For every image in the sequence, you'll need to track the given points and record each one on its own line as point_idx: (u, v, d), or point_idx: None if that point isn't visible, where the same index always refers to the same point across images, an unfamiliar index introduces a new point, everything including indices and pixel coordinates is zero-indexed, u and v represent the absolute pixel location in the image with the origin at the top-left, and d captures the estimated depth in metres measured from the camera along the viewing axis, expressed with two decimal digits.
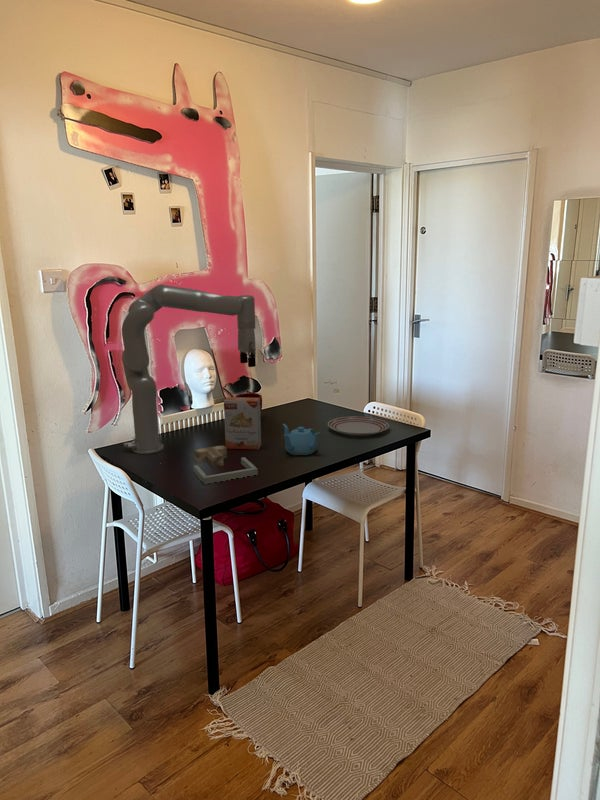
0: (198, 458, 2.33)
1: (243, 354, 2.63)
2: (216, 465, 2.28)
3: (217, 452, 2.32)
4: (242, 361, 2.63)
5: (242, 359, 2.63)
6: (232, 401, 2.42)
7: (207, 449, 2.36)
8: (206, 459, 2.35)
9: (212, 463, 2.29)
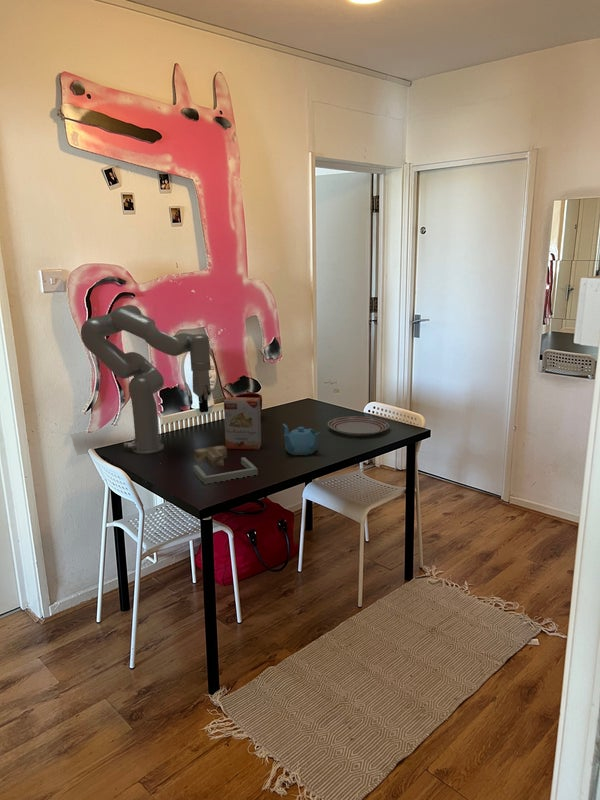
0: (198, 458, 2.33)
1: None
2: (216, 465, 2.28)
3: (217, 452, 2.32)
4: None
5: None
6: (232, 401, 2.42)
7: (207, 449, 2.36)
8: (206, 459, 2.35)
9: (212, 463, 2.29)
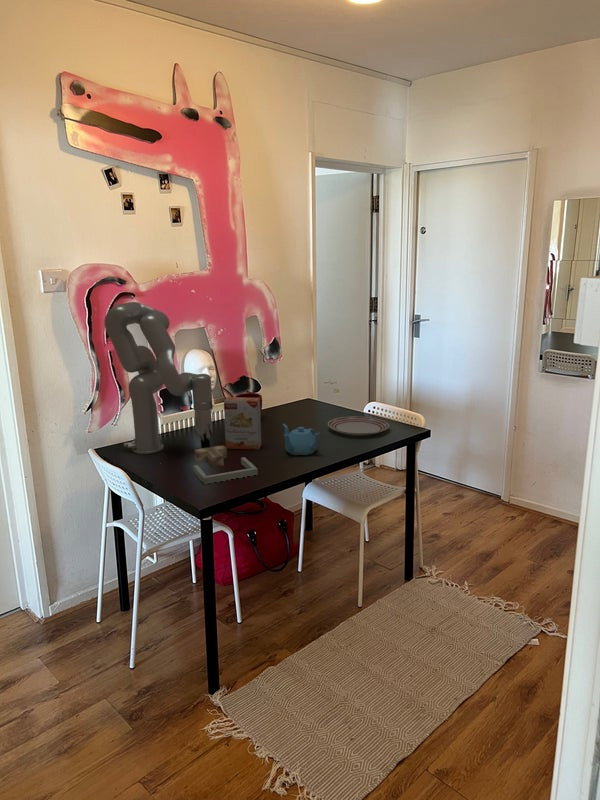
0: (198, 457, 2.33)
1: None
2: (216, 465, 2.28)
3: (217, 452, 2.32)
4: (203, 447, 2.43)
5: None
6: (232, 401, 2.42)
7: (207, 449, 2.36)
8: (206, 459, 2.35)
9: (212, 463, 2.29)
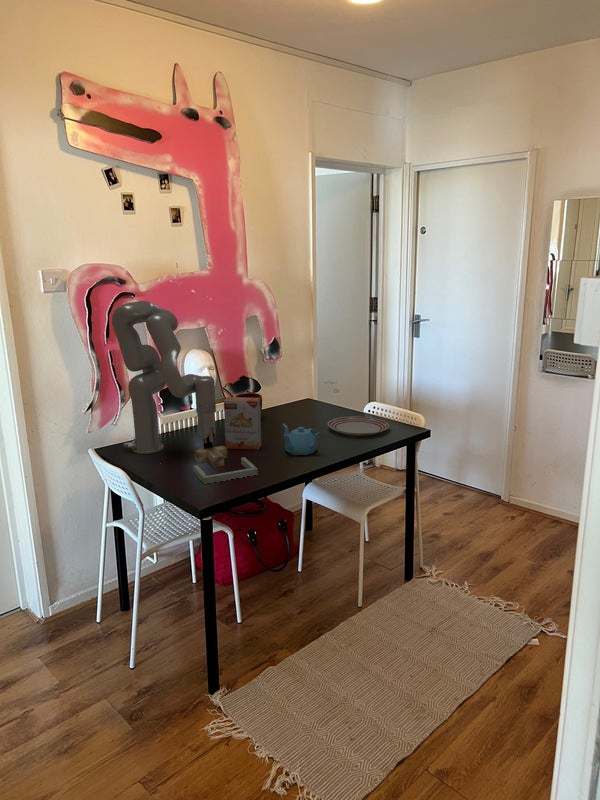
0: (198, 458, 2.32)
1: None
2: (217, 465, 2.28)
3: (218, 452, 2.32)
4: None
5: None
6: (232, 401, 2.42)
7: (208, 449, 2.35)
8: (206, 459, 2.34)
9: (213, 463, 2.28)
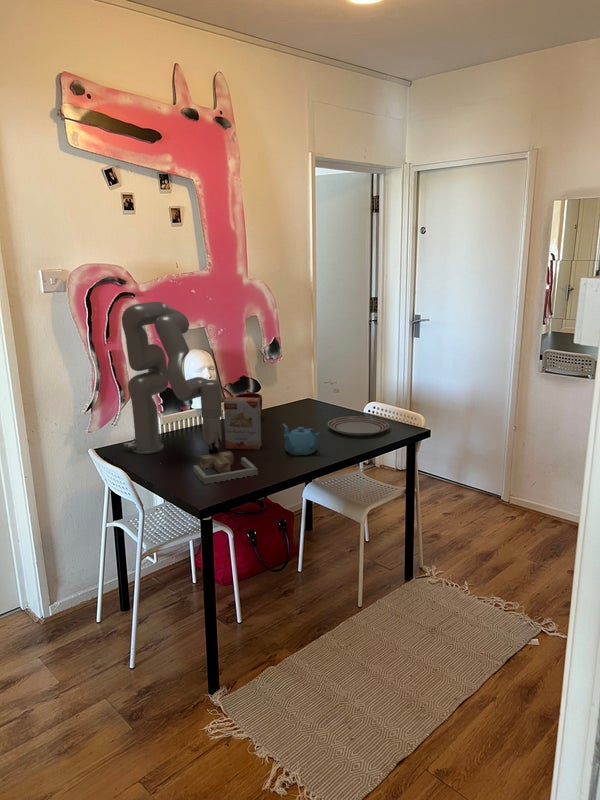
0: (204, 464, 2.26)
1: None
2: (223, 472, 2.21)
3: (224, 458, 2.25)
4: None
5: None
6: (232, 401, 2.42)
7: (213, 455, 2.29)
8: (212, 465, 2.27)
9: (219, 470, 2.21)
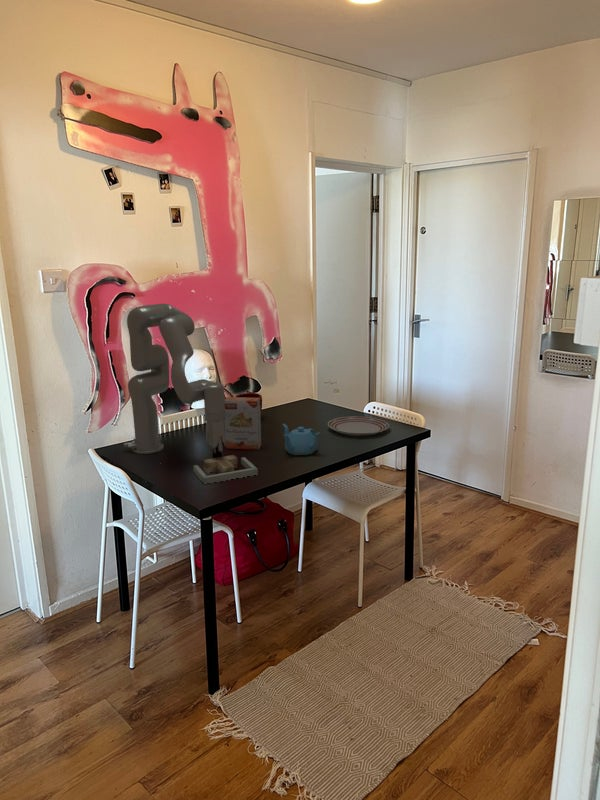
0: (207, 468, 2.22)
1: None
2: None
3: (227, 462, 2.21)
4: None
5: None
6: (232, 401, 2.42)
7: (217, 459, 2.24)
8: (216, 470, 2.23)
9: None
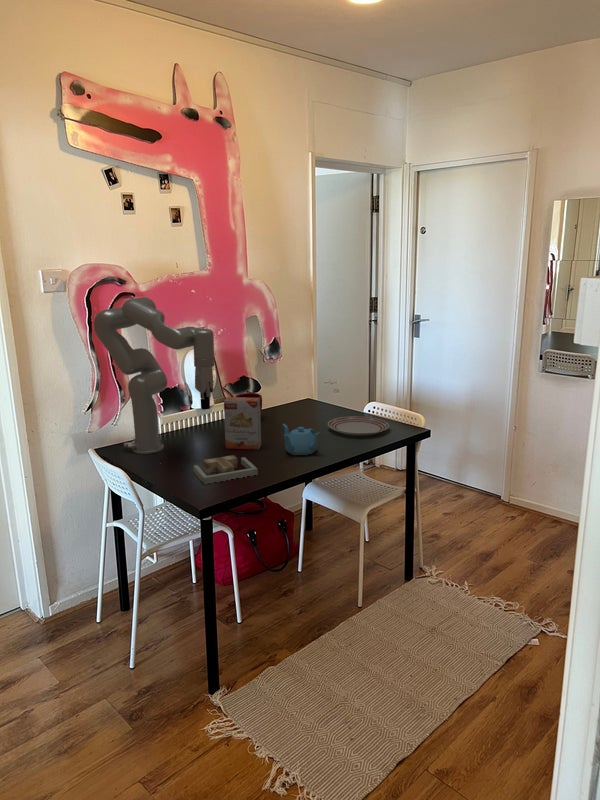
0: (207, 468, 2.22)
1: None
2: None
3: (227, 463, 2.21)
4: None
5: None
6: (232, 401, 2.42)
7: (217, 459, 2.24)
8: (216, 470, 2.23)
9: None
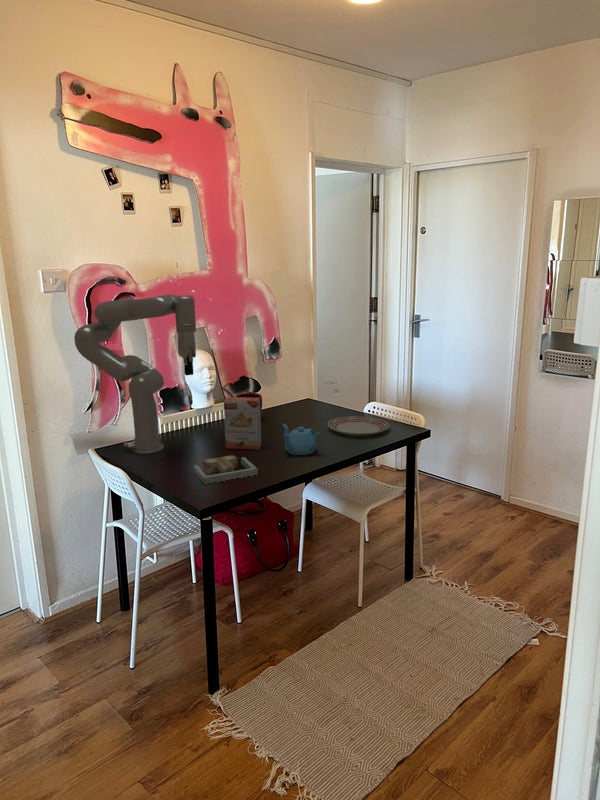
0: (207, 468, 2.22)
1: None
2: None
3: (227, 463, 2.21)
4: None
5: None
6: (232, 401, 2.42)
7: (217, 459, 2.24)
8: (216, 470, 2.23)
9: None
